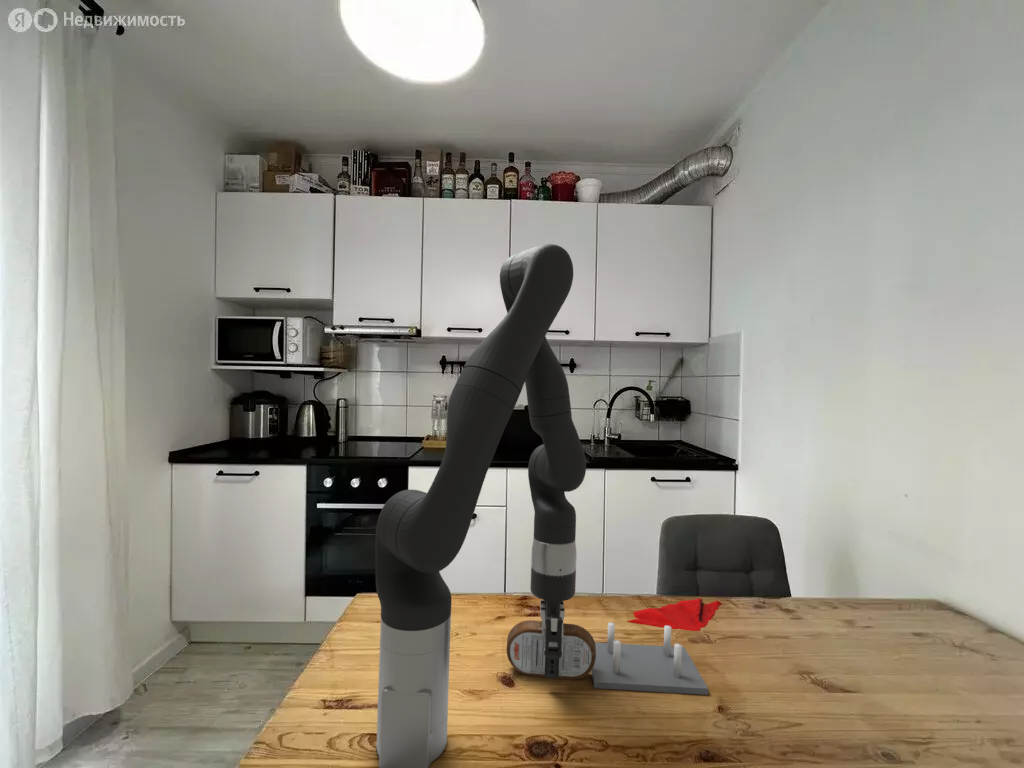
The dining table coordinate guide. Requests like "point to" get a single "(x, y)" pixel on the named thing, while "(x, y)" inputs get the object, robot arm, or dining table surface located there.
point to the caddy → (646, 667)
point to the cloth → (678, 615)
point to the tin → (575, 647)
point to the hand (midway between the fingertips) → (550, 661)
